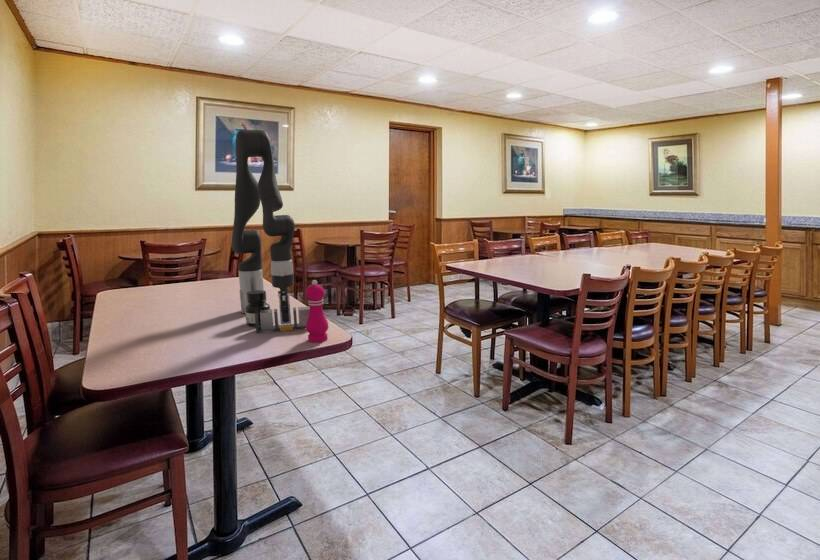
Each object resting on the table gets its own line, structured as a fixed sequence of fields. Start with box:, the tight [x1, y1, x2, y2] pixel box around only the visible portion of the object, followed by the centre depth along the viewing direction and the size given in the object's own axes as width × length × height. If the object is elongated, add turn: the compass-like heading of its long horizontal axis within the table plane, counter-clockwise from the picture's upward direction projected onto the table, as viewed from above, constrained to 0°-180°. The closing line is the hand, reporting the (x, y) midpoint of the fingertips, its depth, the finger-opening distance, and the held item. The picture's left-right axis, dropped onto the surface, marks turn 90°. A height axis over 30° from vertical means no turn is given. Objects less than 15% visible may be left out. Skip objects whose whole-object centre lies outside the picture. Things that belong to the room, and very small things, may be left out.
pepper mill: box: [305, 279, 329, 343], centre depth 159 cm, size 7×7×20 cm
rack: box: [255, 305, 310, 334], centre depth 174 cm, size 20×5×7 cm, turn 104°
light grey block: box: [278, 300, 292, 325], centre depth 174 cm, size 4×5×7 cm
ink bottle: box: [244, 290, 271, 327], centre depth 182 cm, size 10×9×12 cm
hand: (285, 319), depth 175 cm, fingers closed on light grey block, 4 cm apart
